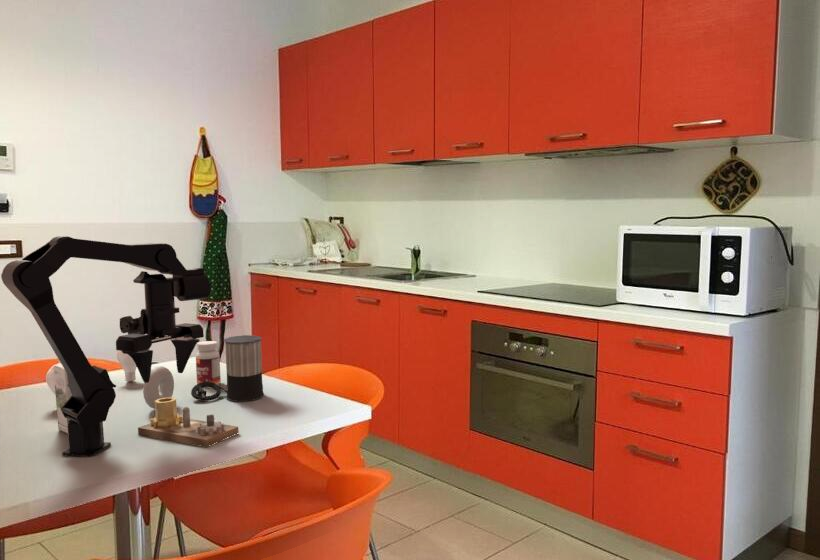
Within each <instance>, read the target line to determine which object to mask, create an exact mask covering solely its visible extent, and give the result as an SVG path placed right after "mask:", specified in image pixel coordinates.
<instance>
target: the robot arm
mask: <svg viewBox="0 0 820 560" xmlns="http://www.w3.org/2000/svg"><path fill="white" fill-rule="evenodd" d="M177 255H178V254H177V253H176V250H175V249H174V247H173V246H172V245H170V244H168V243H163V242H161V243H160V242H159V243H154V242H148V243H147V242H146V243H134V244H133V243H132V244H124V243H115V242H106V241H100V240H99V241H97V240H90V239H88V240H87V239H80V238H73V237H71V236H67V235H66V236H64V235H63V236H62V235H58V236H57V235H56V236H54V237H52V238H51V239H50V240H49V241H48V242H46V243H45V244H44V245H42V246H40V247H39V248H37V249H36V250H34V251H32V252H30V253H29V254H27V255H25V256H24V257H23V258H22V259H19V260H18V259H16V260H12V261H10V262H8V263H7V264H6V265H5V266H4V268H3V270H2V272H1V274H0V277H1V280H2V281H1V282H2V284H3V285H4V286H5V288H6V289H8V290H9V292H10V293H11V294H12V295H13V296H14V297H15V298H16V299H17V300H18V301H19V302H20V303H21V304H22V305H23V306H24V307H25V308H26V309H28V311H29V312H30V313H31V315H32V317H33V318H34V320H35V322H36V324H37V325H38V328H39V329H40V330H41V332H42V334H43V335H44V337H45V338H46V340H47V342H48V344H49V346H50V347H51V349H52V350H53V351H54V354H55V356H56V357H57V360H58V359H59V361H60V362H61V364H62V366H63V367H64V369H65V371H66V373H67V377H68V385H69V388H70V391H71V394H72V396H71V397H70V398H69V399H68V400H67V402H66V403H65V404H64V405H63V406H62V408H61V412H62V414H63V415H64V417H65V418H68V419H70V420H69V423H68V434H67V436H68V437H67V439H68V448H67V449H66V450H64V451H62V452H61V455H62V456H77V457H78V456H80V457H81V456H83V457H85V456H86V457H93V456H95V455H96V454H99V453H101V452H102V451H103V450H105V449H107V448H109V447H110V446H112V442H110V441H107V442H106V441H105V439H104V438H105V437H104V436H105V435H104V425H103V424H104V422H105V421H107V418H108V413H109V411H110V408H111V407H112V406H113V404H114V402H115V399H116V397H117V396H116V395H117V394H116V391H115V388H117V385H116V384H114V383H113V381H112V379H111V377H110V375H109V372H108V370H107V368H103V367H101V366H97V365H92V364H91V363H90V362H89V360H88V358H87V357H86V355H85V353H84V351H83V350H82V348H81V345H80V344H79V342H78V340H77V339H76V337H75V335H74V334H73V332H72V330H71V329H70V327H69V325H68V324H67V322H66V320H65V317H64V316H63V315H62V313H61V311H60V310H59V308H58V306H57V304H56V302H55V299H54V290H53V286H52V282H51V280H50V277H52V275H54V274H55V273H56V272H57V271H59V270H60V268H61V267H62V266H63V265H64V264H65V263H66V262H67V261H68V260H69V259H70V258H73V259H74V258H76V259H85V260H95V261H103V262H105V261H107V262H117V263H123V264H127V265H131V266H132V267H133V266H134V267H137V268H140V269H144V271H140V273H139V274H138V275H137V276H136V277H135V278H134V279H133V280H132V281H133V284H141V285H144V286H143V289H144V301H145V302H144V304H145V308H141V309H140V310H141V311H140V316H139V317H136V318H133V316H132V315H127V316H123V317H120V318H119V329H120V332H121V333H122V334H123V335H118V337H117V338H116V340H115V348H116V351H117V350H119V351H122V353H124V354H128V355H129V356H130V357H131V358H132V359H133V361H134V362H135V364H136V366H137V367H136V369H137V370H138V373H139V374H140V377H141V378H142V381H143V383H144V382H145V383H148V382H149V379H150V374H151V370H152V363H153V354H154V350H153V349H150V348H151V347H152V345H153V344H156V343H160V342H161V343H162V342H165V341H169V340H170V341H171V343H172V345H173V346H174V348H175V350H174V351H175V360H176V370H177V373H178V374H183V372H184V371H185V368H186V366H187V363H188V362H189V359H190V357H191V356H192V353H193V351H194V349H195V347H196V345H197V343H199V342H201V341H200V339H201V338H204V336H205V335H204V328H203V326H202V325H201V324H200V323H188V322H187V323H184V322H183V323H180V324H176V314H177V313H180V307H177V306H176V304H175V303H176V301H175V297H176V299H177V300H178V301H179V302H187V301H195V300H196V301H197V300H205V299H208V298H209V296H210V295H211V291H212V289H211V288H212V285H211V283H210V279H209V277H208V275H207V274H206V273H205V268H204V267H194V268H192V269H191V268H190V269H187V268H186V267H185V266H184V265H183V263H182V262H181V261H180V260H179V258H178V257H177ZM145 270H146V271H145ZM148 271H154V272H158V273H153V274H150V273H149V272H148ZM165 275H169V276H170V275H171V276H172V277H166V276H165ZM59 361H58V362H59ZM90 364H91V365H90ZM104 441H105V442H104Z"/></svg>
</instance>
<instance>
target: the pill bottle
mask: <svg viewBox="0 0 820 560" xmlns="http://www.w3.org/2000/svg"><path fill="white" fill-rule="evenodd" d="M196 345H197V351H198V352H196V354H195V369H196V370H195V371H196V372H195V373H196V385H197V384H198V383H201V382H213V383H215V384H217V385H219V384H221V378H222V377H221V359H220V358H221V357H220V355H221V354H220V352H219V351H218V350H217V349H218V341H215V340H206V341H205V340H204V341H199V342H197V344H196Z"/></svg>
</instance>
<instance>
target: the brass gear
mask: <svg viewBox="0 0 820 560" xmlns="http://www.w3.org/2000/svg"><path fill="white" fill-rule="evenodd" d="M154 402H155V409H154V413H155V416H154V418H150V423H151V425H153V427H155V428H157V427H164V428H166V427H168V426H173V425H175V426H176V425H179V423H180V422H183V415H180V413H178V406H177V398H175V397H171V398H161V399H157V400H156V401H154Z"/></svg>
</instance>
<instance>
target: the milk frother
mask: <svg viewBox="0 0 820 560" xmlns="http://www.w3.org/2000/svg"><path fill="white" fill-rule="evenodd" d="M262 340H263V338H262V337H261V336H259V335H258V336H257V335H250V334H249V335H248V334H247V335H245V334H243V335H236V336H229V337H227V338H224V339H223V342H224V347H225V364H226V365H225V367H226V389H225V388H223V387H222V386H221V385H219V384H218V385H217V384H215V383H213V382H201V383H198V384H197V383H196V384H195V385H194V386H193V387H192V388H191V391H190V392H191V393H190V396H191V397H192V398H193V399H195V400H197V401H206V402H207V401H214V400H216V399H219V397H220V396H221V393H222V391H224V392H225V393H226V396H225V398H226V399H227V400H228V401H232V402H251V401H256V400H259V399H262V398H263V397H265V393H264V384H263V367H262V366H263V364H262V363H263V361H262ZM204 388H210V389H214V390H215V393H214V394H211V395H207V390H205V389H204Z"/></svg>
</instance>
